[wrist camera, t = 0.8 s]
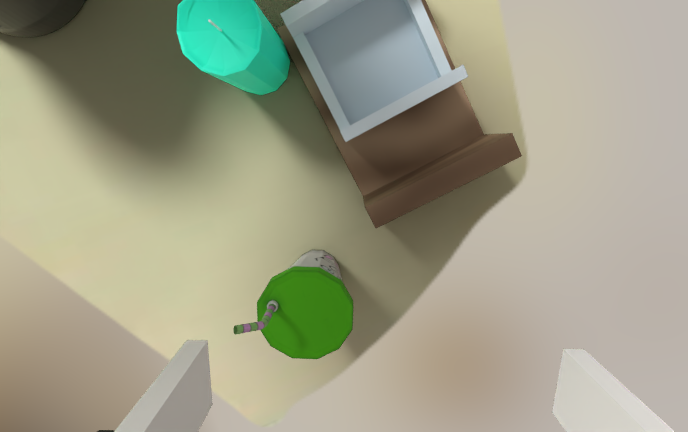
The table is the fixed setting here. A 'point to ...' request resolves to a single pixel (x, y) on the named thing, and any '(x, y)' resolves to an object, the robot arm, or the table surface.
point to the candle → (233, 43)
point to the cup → (305, 308)
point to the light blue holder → (370, 57)
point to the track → (413, 146)
